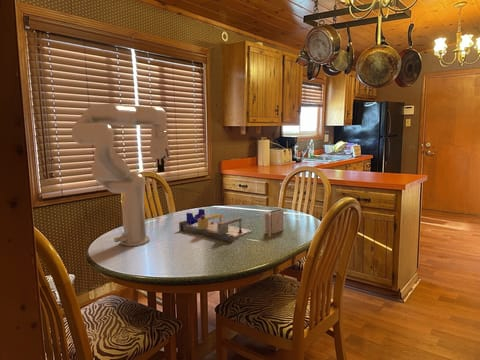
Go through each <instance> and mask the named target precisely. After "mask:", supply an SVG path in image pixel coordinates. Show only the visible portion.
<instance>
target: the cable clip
mask: <svg viewBox="0 0 480 360" xmlns="http://www.w3.org/2000/svg"><path fill="white" fill-rule="evenodd" d="M205 211H206V209H204V208H199V209H198V213H196V214H195V215H194V214H193V213H192V212H186V214H185V215H186V221H187V224H188V225H194V224H198V219H199V218H201V215H205V216H206V212H205Z"/></svg>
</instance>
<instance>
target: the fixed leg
mask: <svg viewBox="0 0 480 360" xmlns="http://www.w3.org/2000/svg"><path fill="white" fill-rule="evenodd" d="M216 223H217V227H218V234H220V235H223V234H225V233H228V225H231V224H235V223H238V228H239V232H242V227H243V226H242V223H243V222H242V217H236V218H233V219H229V220H222V222H216Z"/></svg>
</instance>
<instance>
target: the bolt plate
mask: <svg viewBox="0 0 480 360" xmlns="http://www.w3.org/2000/svg"><path fill="white" fill-rule="evenodd" d="M217 223H218V222H214V221H208V228H206V229H209V230H213V231H217V232H218V227H217ZM195 226H196V227H198V225H195ZM252 232H253V230H251V229H247V228H242V232H239V226H237V227H236V226H232V225H230V224H228V233H226V234H230V235H233V239H237V238H239V237H242V236H245V235H247V234H250V233H252Z"/></svg>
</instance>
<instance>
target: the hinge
mask: <svg viewBox="0 0 480 360" xmlns="http://www.w3.org/2000/svg"><path fill="white" fill-rule="evenodd" d="M282 231H284V209H274V210H270V211H266V212H265V213H264V233H265V234H266V235H268V237H271V236H272V234H275V233H279V232H282Z"/></svg>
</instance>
